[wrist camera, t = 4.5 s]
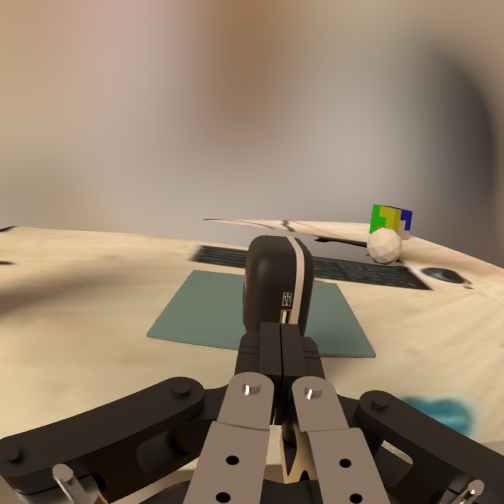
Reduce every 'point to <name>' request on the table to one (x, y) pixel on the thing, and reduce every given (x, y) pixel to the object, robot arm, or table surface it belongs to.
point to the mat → (231, 316)
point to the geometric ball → (384, 246)
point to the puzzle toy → (391, 220)
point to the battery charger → (277, 283)
